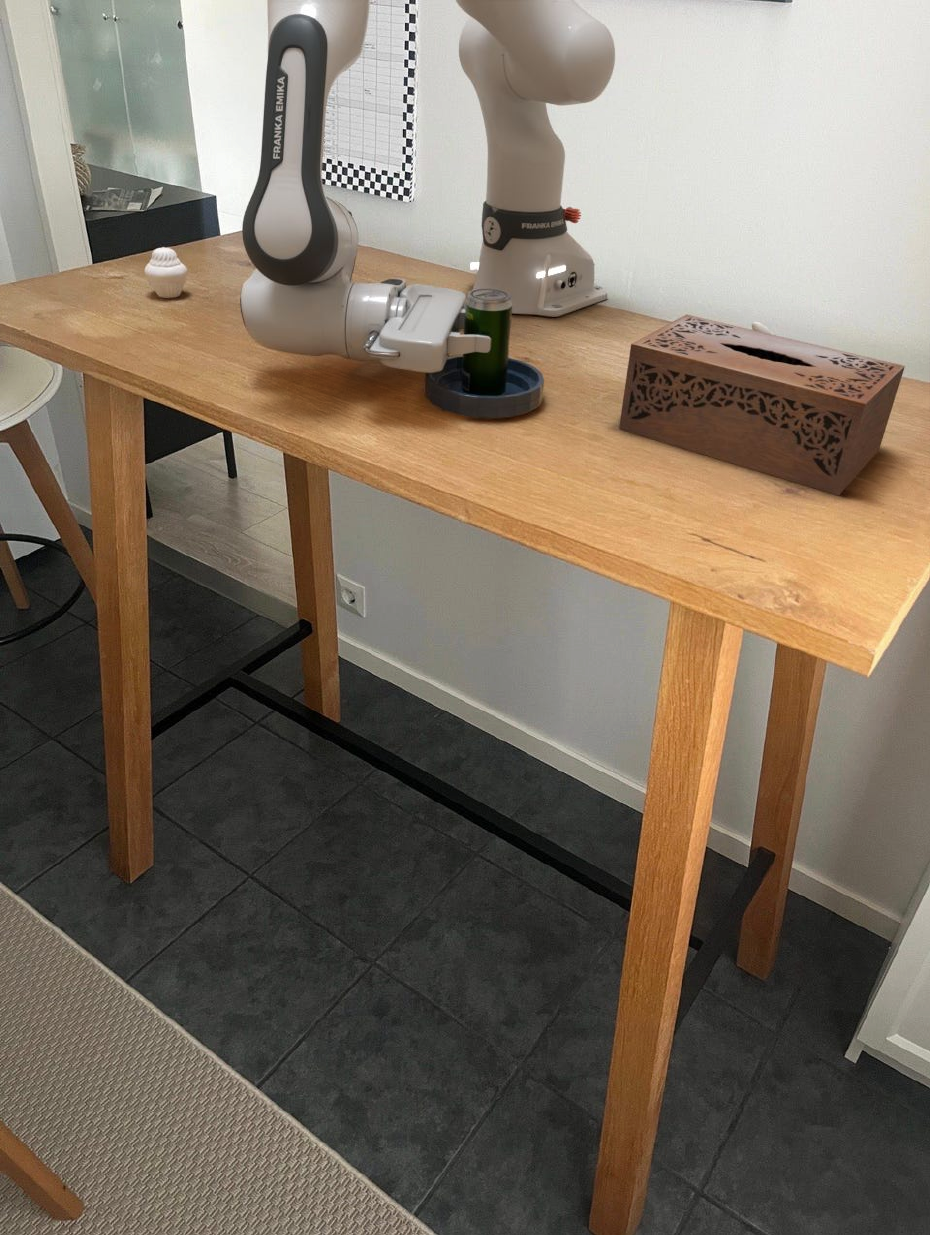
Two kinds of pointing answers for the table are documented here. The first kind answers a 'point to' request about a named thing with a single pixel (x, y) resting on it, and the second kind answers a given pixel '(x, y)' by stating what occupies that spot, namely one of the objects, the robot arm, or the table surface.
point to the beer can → (490, 369)
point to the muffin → (166, 273)
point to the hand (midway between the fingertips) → (494, 334)
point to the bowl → (516, 400)
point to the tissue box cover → (760, 400)
